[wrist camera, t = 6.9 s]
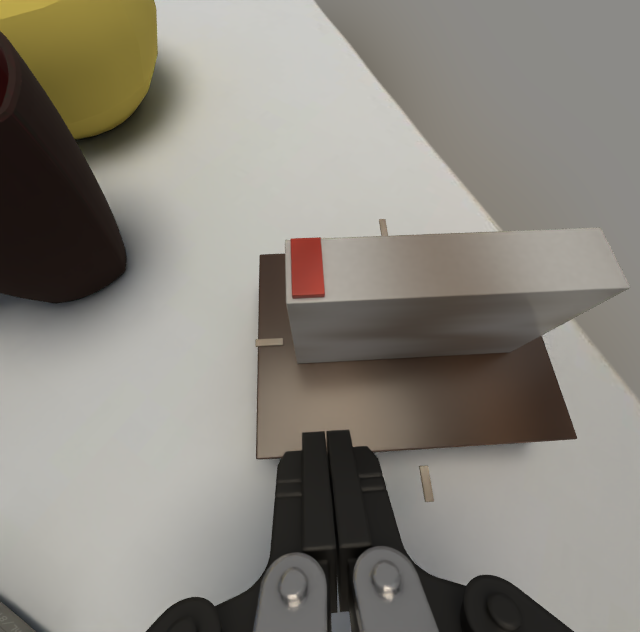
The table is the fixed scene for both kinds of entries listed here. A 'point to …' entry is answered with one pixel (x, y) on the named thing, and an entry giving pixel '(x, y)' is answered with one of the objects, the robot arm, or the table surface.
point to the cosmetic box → (12, 621)
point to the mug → (48, 199)
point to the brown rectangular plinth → (398, 392)
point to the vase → (86, 55)
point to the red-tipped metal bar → (441, 291)
